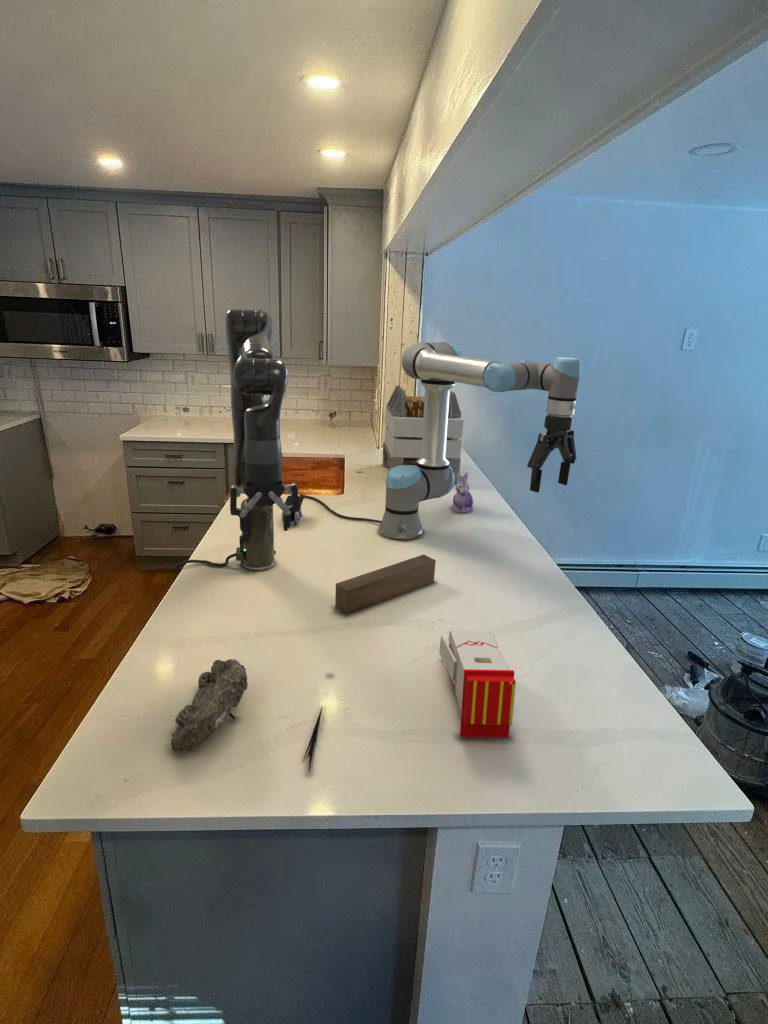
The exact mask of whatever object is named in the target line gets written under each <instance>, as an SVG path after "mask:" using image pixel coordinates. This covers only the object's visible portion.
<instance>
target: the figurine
mask: <svg viewBox="0 0 768 1024" xmlns="http://www.w3.org/2000/svg"><path fill="white" fill-rule="evenodd" d="M457 479H458V483H456V485H455V490H456V493H455V494H453V496H452V506H451V509H452V510H453V512H456V513H462V514H463V513H468V512H470V511H471V510H472V509H473V505H474V499H473V496H472V494H471V492H470V489H471V487H470V484H469V482H468V479H469V473H468V472H465V473H464V474H463V476H462V474H461V473H458V474H457Z"/></svg>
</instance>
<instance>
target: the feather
mask: <svg viewBox="0 0 768 1024" xmlns="http://www.w3.org/2000/svg"><path fill="white" fill-rule="evenodd" d="M329 675H330V676H331V675H332V674H331V673H330V674H329ZM322 710H323V707H321V708H320V710H319V713H318V716H317V719H316V723H315V725H314V728H313V731H312V733H311V737H310V739H309V742H308V745H307V748H306V751H305V754H304V757H303V760H302V763H301V767H302V765H303V763H304V761H305V758H308V759H309V760H308V762H307V763H308V764H307V766H308V771H310V770H311V766H312V765H311V764H312V760H313V757H315V756H314V755H315V751H316V749H315V746H317V739H318V733H319V729H320V722H321V717H322V712H323V711H322ZM313 754H314V755H313ZM306 755H307V757H306Z"/></svg>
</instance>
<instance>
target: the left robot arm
mask: <svg viewBox="0 0 768 1024" xmlns="http://www.w3.org/2000/svg"><path fill="white" fill-rule="evenodd" d="M274 328H275V327H274V321H273V318H272V316H271V314H270V313H269V312H268V311H266V310H262V309H245V308H243V309H242V308H232V309H229V310H228V311H227V312H226V315H225V336H226V346H227V353H228V362H229V372H230V373H229V374H230V405H231V406H230V407H231V419H232V420H231V421H232V430H233V479H234V484H231V485H230V487H229V489H230V490H229V512H230V516H237V517H238V518H239V529H240V531H241V535H240V536H239V537H238V538H239V539H238V540H239V546H236V548H235V549H236V550H235V553H231V554H229V555H228V556H226V558H225V561H224V562H223V563H218V562H212V561H209V560H204V559H187V560H183V561H181V562H179V563H178V564H177V565H176V566H175V567H174V569H180V568H181V567H182V566H184V565H186V564H193V563H194V564H207V565H209V566H213V567H226V566H228V564H229V561H230V559H232V558H234V557H235V562H240V567H243V568H244V569H247V570H251V571H264V570H268V569H270V568H272V567H274V566H275V564H276V562H275V561H276V559H275V555H276V554H277V552H276V550H275V530H274V529H275V526H274V505H276V506H277V507H278V509H280V510H281V511H282V513H283V521H282V526H283V527H282V529H283V531H284V532H287V531H288V529H291V525H292V524H291V523H292V522H291V513H293V512H298V511H299V501H298V496H299V489H298V485H297V483H296V482H294V481H292V482H290V483H287V484H284V483H283V451H282V442H281V441H282V440H281V410H282V405H283V400H284V396H285V393H286V389H287V386H288V381H289V370H288V367H287V365H286V364H285V362H283V360H281V359H279V358H275V355H274V343H275V331H274ZM268 396H269V398H268ZM285 491H286V492H287V493H288V495H289V496H291V499H292V505H290V506H287V504H286V503H285V500H284V499H283V498H282V497H281V496H282V495H283V494H284V492H285ZM242 493H244V494H245V496H246V498H245V499H243V500H242V501H241V504H240V508H239V507H237V505H238V504H237V502H238V499H237V498H239V497H241V494H242Z"/></svg>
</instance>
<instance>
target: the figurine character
mask: <svg viewBox="0 0 768 1024" xmlns="http://www.w3.org/2000/svg"><path fill="white" fill-rule="evenodd" d="M304 498H305V497H302V496H300V495H298V501H299V511H298V512H293V513H291V523H294V524H293V526H297V522H299V521H301V518H302V517H303V514H302V511H303V508H302V505H303V501H304V500H305V499H304ZM284 502H285V503H286V504H287V506H290V505H292V499H291V495H287V497H286V499H285V500H284ZM281 514H282V515H281V522H283V512H282V513H281Z"/></svg>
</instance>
